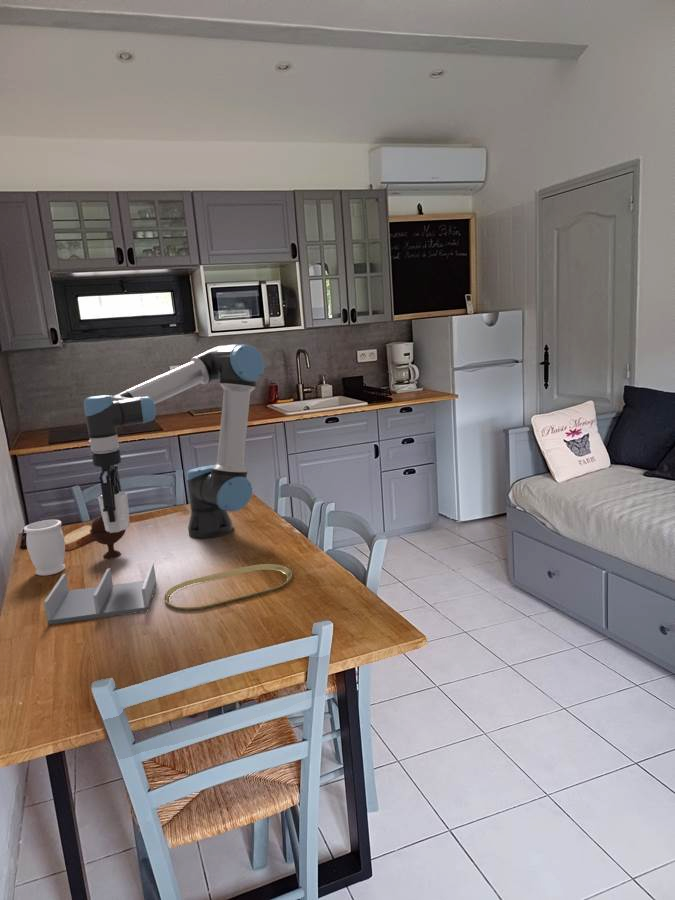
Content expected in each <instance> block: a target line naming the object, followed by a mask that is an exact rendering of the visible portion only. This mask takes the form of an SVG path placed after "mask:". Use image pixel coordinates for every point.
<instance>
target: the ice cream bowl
mask: <svg viewBox="0 0 675 900" xmlns="http://www.w3.org/2000/svg"><path fill="white" fill-rule="evenodd" d="M126 530H127V529H125V530H122V531H120V532H114V533H110V532H108V531H106V530H105V525H104V522H103V518H102V514H100V515H99V516H97V517H96V518H95V519H94V520H93V521H92V522H91V530H90V533H91V535H92V537H93V538H94V539H95V540H94V541H96V542H97V543H99V544H101V545H107V549H108V551H107V552H105V553H104V554H103V556H102V557H103V559H106V560H111V559H115V558H118V557H120V556H121V555H122V553H121V552H120V551H119V550H115V547H114V546H115V543H117V542H118V541H120V540H121V539H122V537H124V535H125V534H126Z"/></svg>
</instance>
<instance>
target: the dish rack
mask: <svg viewBox="0 0 675 900" xmlns="http://www.w3.org/2000/svg"><path fill="white" fill-rule="evenodd" d="M146 572H147V573H146V575H145V578H144V580H140V581H132V582H131V581H130V582H124V583H116V584H114V583H113V578H112V573H111V568H110V567H109V568H106V569H105V572H104V574H103V576H102V578H101V580H100V582H99V584H98V585H97V586H94V587H85V588H79V589H71V590H70V589H69V583H68V578H67V577H68V576H67V573H62V574H61V576H60V578H59V579H58V580H57V582H56V583H55V585H54V586H53V588H52V590H51V591H50V592H49V594H48V595H47V597H46V598H45V600H44V601H43V605H44V611H45V615H46V616H45V617H46V620H47V621H46V622H47V625H48V626H49V625H57V624H65V623H72V622H79V621H87V620H95V619H102V618H108V617H107V616H110V617H116V616H115V615H117V616H123V615H122V614H125V615H129V613H132V614H135V613H134V612H139V613H141V612H140V611H147V610H148V609H150V607H149V605H150V606H151V603H152V600H153V597H152V595H153V596H154V593H155V590H156V586H157V577H156V570H155V563H154V562H150V564H149V567H148V569H147V571H146ZM154 589H155V590H154ZM153 592H154V593H153ZM151 599H152V600H151ZM150 602H151V603H150ZM148 611H149V610H148ZM148 611H147V612H148Z"/></svg>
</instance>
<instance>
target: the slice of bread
mask: <svg viewBox="0 0 675 900" xmlns="http://www.w3.org/2000/svg"><path fill="white" fill-rule="evenodd" d="M91 525H92V524H91ZM91 525H90V524H86V525H83V526H81V527H79V528H77V529H74V530H72V531H70V532H69V533H67V534H65V535H64V540H65V550H69V551H72V550H71V549H73V550H75V549H78V548H80V547H83V546H85V545H87V544H89V543H90V541H91V542H93V541H95V540H94V538H93V537H92V535H91V533H90V530H91ZM92 540H93V541H92ZM88 542H89V543H88ZM86 543H87V544H86ZM84 544H85V545H84ZM77 547H78V548H77Z"/></svg>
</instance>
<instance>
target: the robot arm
mask: <svg viewBox="0 0 675 900" xmlns="http://www.w3.org/2000/svg"><path fill="white" fill-rule="evenodd" d="M264 371H265V359H264V356H263V355H262V353H261V352H260V351H259V349H257V347H255V346H253V345H251V344H245V343H238V344H237V343H236V344H222V345H218V346H215V347H213V348H211V349H210V348H209V349H208V350H206V351H204V352H202V353H200V354H198V355H196V356H193V357H192V358H191V359H190V361H189V362H187V363H185V364H183V365H181V366H179V367H176V368H175V369H172V370H169V371H167V372H165V373H162V374H160V375H157V376H155V377H153V378H151V379H149V380H146V381H144V382H142V383H140V384H138V385H135V386H133V387H131V388H129V389H125V390H124V391H121V392H120V393H117V394H114V395H111V394H110V395H108V394H103V395H102V394H101V395H95V396H94V395H93V396H89V397H86V398H85V399H84V401H83V405H84V406H83V408H84V410H83V411H84V416H85V420H86V427H87V431H88V438H89V440H87V444H89V445H90V450H91V452H92V454H91V459H92V464H93V466H94V467H97V468H98V467H99V468H101V472H100V473H99V474H100V475H99V482H100V488H101V495H102V497H103V505H104V509H103V512H107V519H108V525H109V531H110V533H114V532H120V527H119V521H118V514H117V509H116V507H115V499H114V498H115V495H114V494H118V493H119V491H122V485H121V480H120V475H119V468H118V464H120V463H121V462H122V457H121V456H122V455H121V451H120V450H119V448H120V442H119V437H118V430H117V428H120V427H121V428H122V427H126V426H133V425H138V424H146V423H149V422H152V421H153V420H155V418H156V414H157V409H156V404H158V403H160V402H162V401H165V400H167V399H169V398H171V397H173V396H176V395H177V394H180V393H182V392H184V391H186V390H188V389H191V388H194V387H195V386H196V385H199V384H201V385H206V384H208V383H211V382H214V381H219V386H220V387H221V388H222V389H223V398H222V406H221V407H222V408H221V415H220V416H221V417H220V428H219V439H218V446H217V447H218V449H217V460H216V463H215V464H210V465H205V466H199V467H195V468H192V469H189V470H188V471H187V473H186V483H187V488H188V497H189V505H190V517H189V522H188V526H187V529H188V530H187V531H188V536H190V537H192V538H195V539H211V538H217V537H221V536H223V535H226V534H229V533H230V532H232V530H233V521H232V519H231V517H230V515H229V513H228V512H238V511H240V510H243V509H244V508H245V507H246V506H247V505H248V504H249V502H250V501H251V499H252V497H253V486H252V483H251V482H250V481H249V479H247V478H248V470H247V468H246V467H245V465H244V461H245V451H246V444H247V443H246V441H247V430H248V422H249V421H248V420H249V411H250V410H249V409H250V400H251V393H252V392H253V391H254V390H255V389H256V386H257V385H256V384H257V381H258V380H259V379H260V377H262V376H263V374H264Z"/></svg>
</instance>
